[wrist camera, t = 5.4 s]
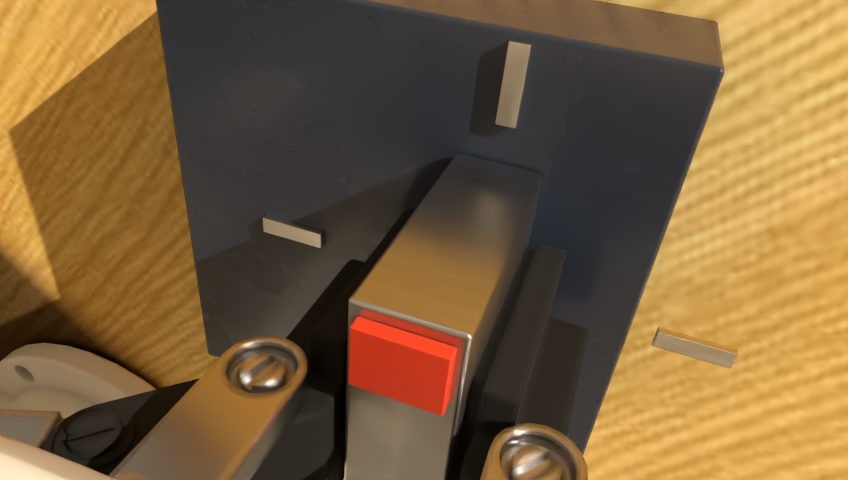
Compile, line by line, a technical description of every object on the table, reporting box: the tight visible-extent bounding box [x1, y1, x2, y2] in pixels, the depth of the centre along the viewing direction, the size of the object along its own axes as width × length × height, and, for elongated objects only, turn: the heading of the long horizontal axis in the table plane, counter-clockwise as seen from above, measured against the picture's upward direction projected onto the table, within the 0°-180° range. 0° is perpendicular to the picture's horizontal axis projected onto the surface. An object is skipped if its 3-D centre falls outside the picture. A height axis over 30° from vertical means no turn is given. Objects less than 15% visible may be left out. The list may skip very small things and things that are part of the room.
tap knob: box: [344, 154, 543, 480], centre depth 11 cm, size 6×2×5 cm, turn 175°
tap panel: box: [156, 0, 738, 455], centre depth 14 cm, size 12×10×3 cm
